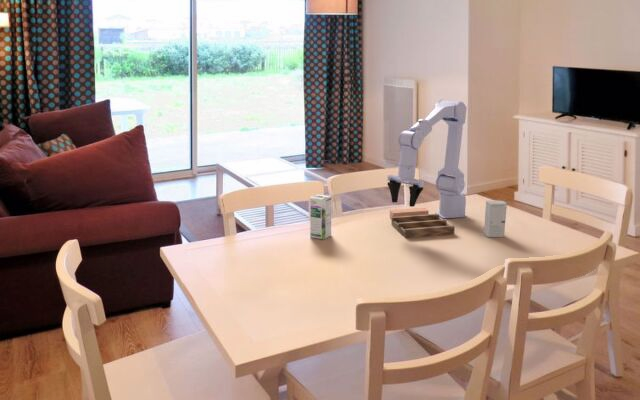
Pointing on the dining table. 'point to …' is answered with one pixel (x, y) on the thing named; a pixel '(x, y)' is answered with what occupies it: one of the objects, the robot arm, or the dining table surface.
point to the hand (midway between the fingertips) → (403, 204)
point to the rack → (422, 226)
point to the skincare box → (495, 218)
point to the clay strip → (408, 212)
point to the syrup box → (320, 216)
